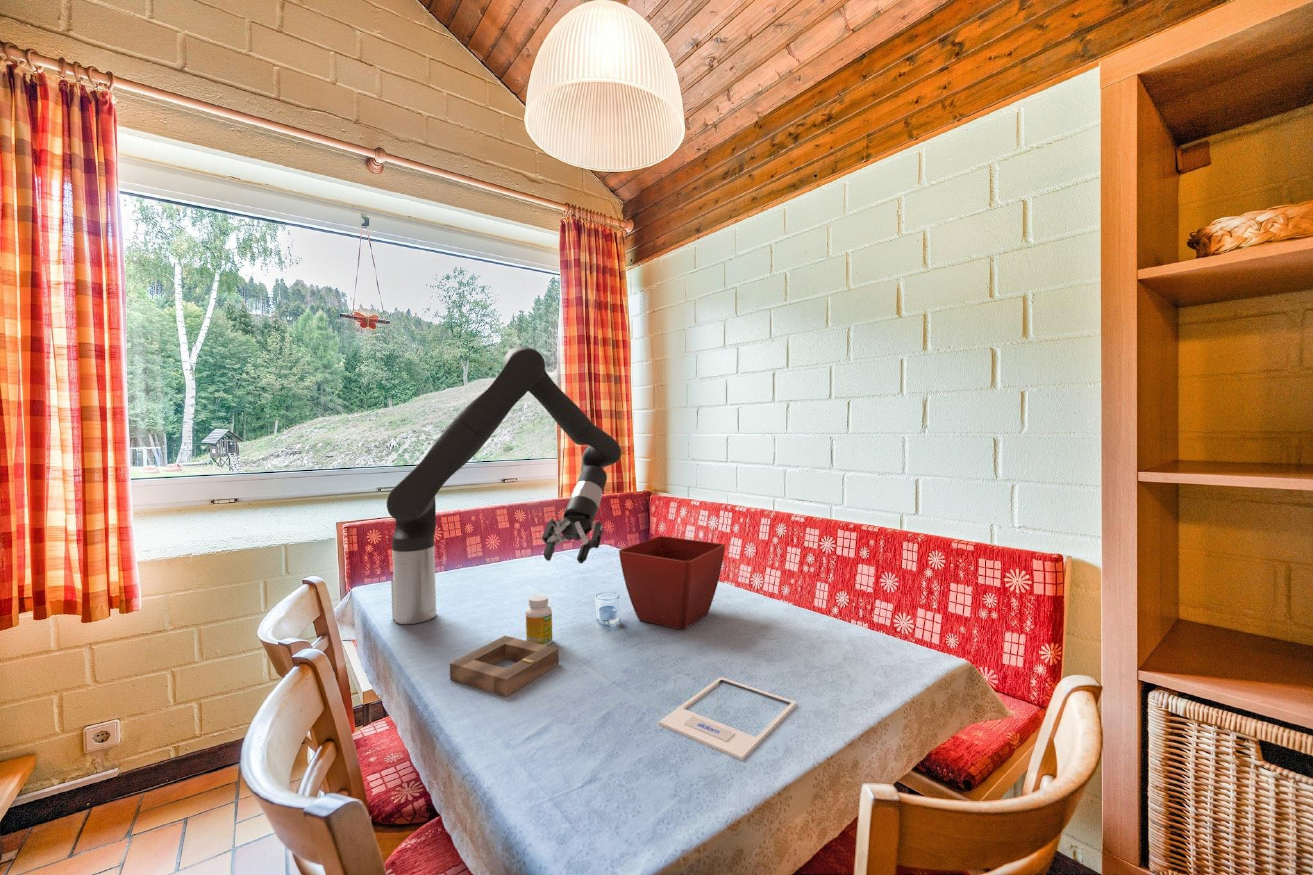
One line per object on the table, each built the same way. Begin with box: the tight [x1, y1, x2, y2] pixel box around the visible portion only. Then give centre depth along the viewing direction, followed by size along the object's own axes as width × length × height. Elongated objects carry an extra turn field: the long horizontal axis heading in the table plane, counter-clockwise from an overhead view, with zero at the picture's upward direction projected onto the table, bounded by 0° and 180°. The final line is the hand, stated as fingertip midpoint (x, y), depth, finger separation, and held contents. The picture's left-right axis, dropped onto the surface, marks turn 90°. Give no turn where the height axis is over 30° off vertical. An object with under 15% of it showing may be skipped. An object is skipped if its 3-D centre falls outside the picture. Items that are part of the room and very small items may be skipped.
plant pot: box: [618, 535, 726, 631], centre depth 129 cm, size 19×19×17 cm
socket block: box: [449, 635, 560, 697], centre depth 102 cm, size 14×14×3 cm
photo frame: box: [658, 676, 798, 761], centre depth 86 cm, size 15×1×18 cm
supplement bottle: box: [525, 594, 553, 646], centre depth 115 cm, size 5×5×10 cm
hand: (563, 560), depth 125 cm, fingers open, 8 cm apart
